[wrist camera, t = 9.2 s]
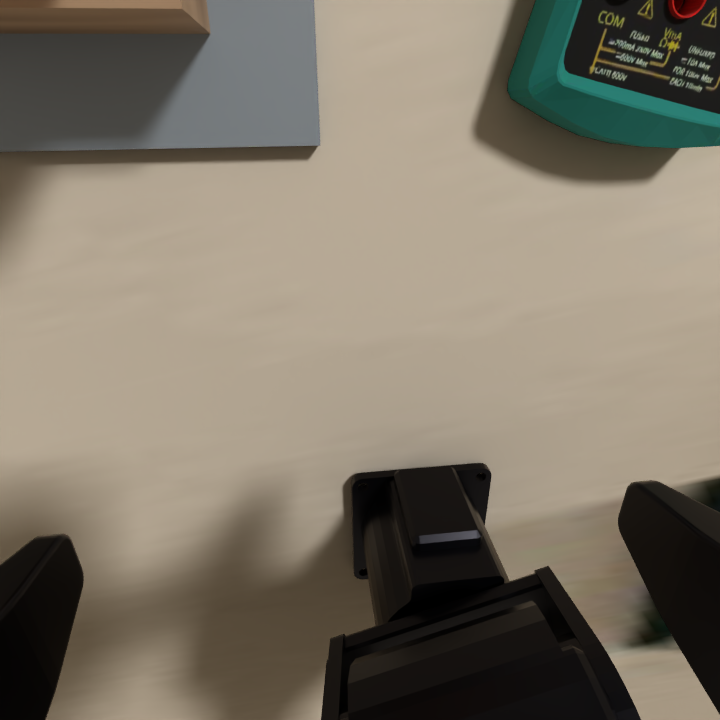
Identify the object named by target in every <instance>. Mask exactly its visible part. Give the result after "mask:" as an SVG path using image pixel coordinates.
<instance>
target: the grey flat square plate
mask: <svg viewBox="0 0 720 720" xmlns="http://www.w3.org/2000/svg"><path fill="white" fill-rule="evenodd" d="M207 8H208V16H209V24H210V32H211V34H0V152H19V151H69V150H119V149H169V148H219V147H269V146H319V145H320V127H319V104H318V82H317V59H316V36H315V13H314V0H207Z"/></svg>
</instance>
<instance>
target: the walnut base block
mask: <svg viewBox="0 0 720 720" xmlns="http://www.w3.org/2000/svg"><path fill="white" fill-rule="evenodd" d="M0 34H211V32H210V24H209V16H208V8H207V0H0Z"/></svg>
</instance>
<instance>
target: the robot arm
mask: <svg viewBox="0 0 720 720" xmlns="http://www.w3.org/2000/svg"><path fill="white" fill-rule="evenodd" d="M479 473H482V474H481V475H479V476H476V475H478V474H479ZM490 482H491V472H490V470H489V468H488V467H487V465H485V464H483V463H474V464H462V465H451V466H439V467H427V468H415V469H403V470H391V471H379V472H367V473H360V474H357V475H355V476H354V477H353V478H352V481H351V497H352V537H353V569H354V575H355V577H357V578H359V579H369V586H370V592H371V599H372V605H373V612H374V618H375V625H376V626H375V627H372V628H369V629H366V630H363V631H360V632H357V633H354V634H351V635H348V636H345V634H343V635H340V636H337V637H334V638H331V639H330V647H329V658H328V660H327V663H326V674H325V684H324V695H323V706H322V716H321V720H641V719H640V716H639V714H638V712H637V710H636V707H635V705H634V703H633V701H632V699H631V697H630V695H629V693H628V691H627V689H626V687H625V685H624V683H623V681H622V679H621V677H620V675H619V673H618V671H617V669H616V668H615V666H614V664H613V662H612V661H611V659H610V657H609V655H608V654H607V652H606V651H605V649H604V647H603V646H602V644H601V643H600V641H599V640H598V638H597V637H596V635H595V634H594V632H593V631H592V629H591V628H590V626H589V625H588V623H587V622H586V620H585V619H584V618H583V616H582V615H581V613H580V612H579V610H578V609H577V607H576V606H575V604H574V603H573V601H572V600H571V598H570V597H569V595H568V594H567V593H566V591H565V590H564V588H563V587H562V585H561V584H560V582H559V581H558V579H557V578H556V576H555V575H554V573H553V572H552V570H551V569H550V568H549V566H546V567H543V568H540V569H537V570H534V571H535V573H534V574H531V575H528V576H525V577H522V578H519V579H516V580H513V581H509V579H508V576H507V574H506V572H505V570H504V568H503V565H502V563H501V561H500V559H499V557H498V554H497V552H496V550H495V548H494V545H493V543H492V541H491V539H490V537H489V534H488V532H487V530H486V528H485V519H486V511H487V504H488V497H489V490H490ZM361 483H366V485H364V486H359V484H361ZM618 526H619V530H620V533H621V535H622V538H623V540H624V542H625V544H626V546H627V548H628V550H629V552H630V554H631V556H632V558H633V560H634V562H635V564H636V566H637V568H638V570H639V573H640V575H641V577H642V579H643V581H644V583H645V585H646V587H647V589H648V591H649V593H650V595H651V597H652V599H653V601H654V603H655V605H656V607H657V609H658V611H659V613H660V615H661V617H662V619H663V621H664V622H665V624H666V626H667V628H668V629H669V631H670V633H671V635H672V636H673V638H674V640H675V641H676V643H677V645H678V646H679V648H680V650H681V651H682V653H683V654H684V656H685V658H686V659H687V661H688V663H689V664H690V666H691V668H692V669H693V671H694V673H695V674H696V676H697V678H698V679H699V681H700V683H701V684H702V686H703V688H704V689H705V691H706V692H707V694H708V696H709V697H710V699H711V701H712V702H713V704H714V706H715V707H716V709H717V711H718V712H719V714H720V513H719V512H717V511H715V510H713V509H711V508H709V507H707V506H705V505H704V504H702V503H700V502H698V501H696V500H694V499H692V498H690V497H688V496H686V495H684V494H682V493H680V492H678V491H676V490H674V489H672V488H670V487H668V486H666V485H664V484H662V483H660V482H658V481H652V480H650V481H639V482H633V483H631V484H630V485H629V486H628V487H627V490H626V493H625V496H624V500H623V503H622V506H621V510H620V513H619V517H618ZM83 581H84V576H83V570H82V567H81V564H80V562H79V559H78V556H77V554H76V551H75V548H74V546H73V543H72V541H71V539H70V537H69V536H68V535H66V534H54V535H43V536H38V537H36V538H34V539H33V540H31V541H30V542H29V543H27V544H26V545H25V546H23V547H22V548H21V549H20V550H18V551H17V552H16V553H15V554H13V555H12V556H11V557H9V558H8V559H7V560H6V561H4V562H3V563H2V564H1V565H0V720H45V719H46V717H47V714H48V711H49V708H50V705H51V702H52V699H53V697H54V694H55V690H56V687H57V683H58V680H59V676H60V673H61V669H62V665H63V661H64V657H65V653H66V650H67V646H68V642H69V638H70V634H71V630H72V626H73V623H74V619H75V615H76V611H77V607H78V603H79V599H80V596H81V592H82V588H83Z"/></svg>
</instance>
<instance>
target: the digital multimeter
mask: <svg viewBox="0 0 720 720" xmlns="http://www.w3.org/2000/svg"><path fill="white" fill-rule="evenodd" d="M581 2H582V4H581ZM580 5H581V7H580ZM579 8H580V10H579ZM578 11H579V13H578ZM577 14H578V16H577ZM576 18H577V19H576ZM575 21H576V22H575ZM574 24H575V25H574ZM573 27H574V28H573ZM572 30H573V31H572ZM571 33H572V34H571ZM570 36H571V37H570ZM569 39H570V40H569ZM568 42H569V43H568ZM567 45H568V46H567ZM566 48H567V49H566ZM565 51H566V52H565ZM507 91H508V93H509V95H510V97H511V99H513V100H514V101H516V102H518V103H519V104H521V105H523V106H524V107H526V108H527V109H529V110H531V111H532V112H534V113H536V114H537V115H539V116H541V117H542V118H544V119H546V120H547V121H549V122H551V123H554V124H556V125H558V126H560V127H562V128H564V129H566V130H568V131H571V132H573V133H575V134H577V135H580V136H584V137H588V138H592V139H596V140H600V141H604V142H608V143H615V144H623V145H632V146H643V147H663V148H687V147H707V146H720V0H583V1H582V0H536V1H535V4H534V7H533V10H532V13H531V16H530V19H529V22H528V25H527V27H526V30H525V33H524V36H523V39H522V42H521V45H520V48H519V51H518V54H517V57H516V60H515V62H514V65H513V68H512V71H511V74H510V77H509V80H508V90H507Z"/></svg>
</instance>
